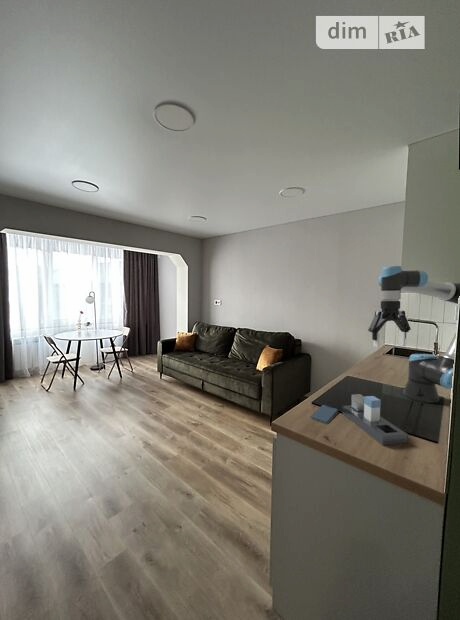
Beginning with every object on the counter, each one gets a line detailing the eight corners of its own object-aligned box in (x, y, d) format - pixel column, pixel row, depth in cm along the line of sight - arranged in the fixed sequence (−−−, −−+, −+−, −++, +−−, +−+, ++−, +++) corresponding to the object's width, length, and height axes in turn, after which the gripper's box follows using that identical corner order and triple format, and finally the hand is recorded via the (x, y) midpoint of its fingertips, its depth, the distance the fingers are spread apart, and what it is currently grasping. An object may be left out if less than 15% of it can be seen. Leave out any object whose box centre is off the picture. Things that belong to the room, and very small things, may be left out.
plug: (372, 423, 104) (373, 395, 103) (379, 428, 100) (380, 400, 99) (363, 424, 104) (364, 396, 103) (370, 429, 100) (371, 400, 99)
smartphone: (309, 416, 108) (322, 404, 119) (309, 420, 108) (322, 407, 119) (326, 422, 103) (338, 409, 114) (326, 426, 103) (338, 412, 114)
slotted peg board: (362, 411, 114) (363, 392, 114) (406, 442, 91) (408, 418, 90) (342, 413, 113) (343, 393, 112) (382, 445, 89) (383, 420, 89)
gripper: (406, 299, 118) (405, 343, 120) (360, 300, 114) (359, 346, 115) (421, 300, 111) (419, 346, 113) (372, 301, 107) (371, 349, 108)
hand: (389, 346), depth 114 cm, fingers open, 13 cm apart
